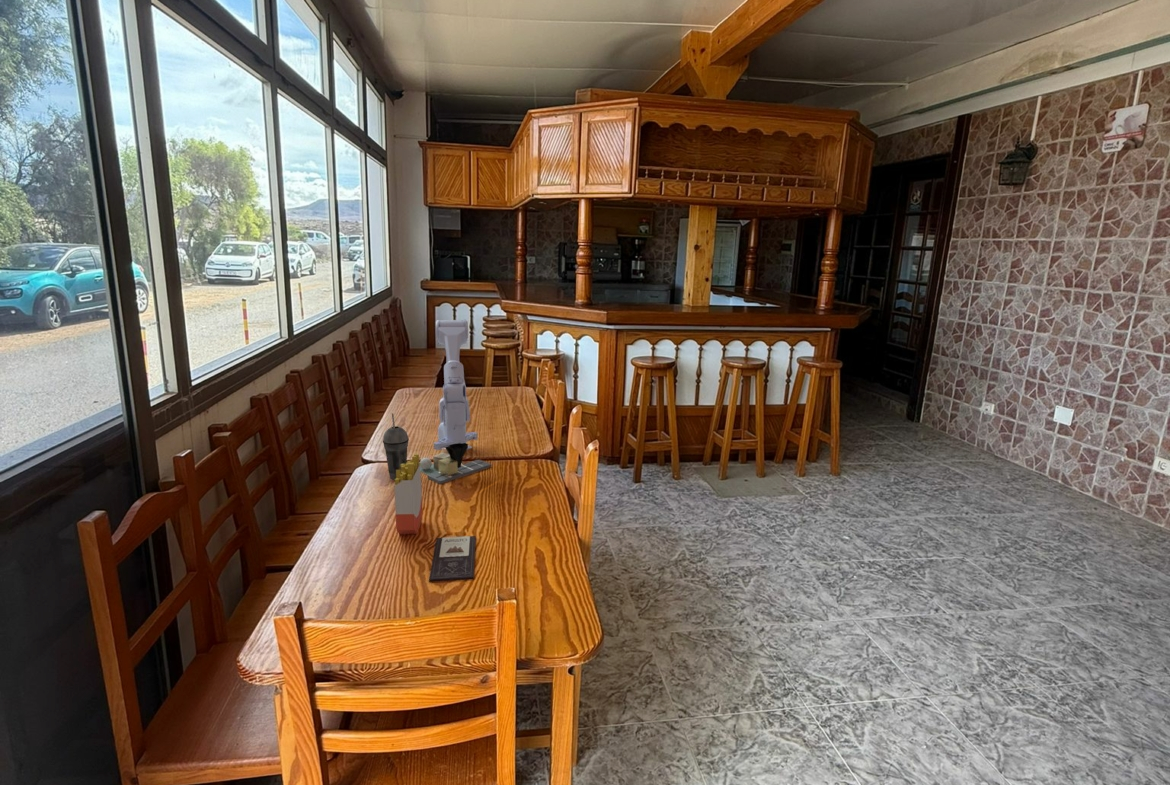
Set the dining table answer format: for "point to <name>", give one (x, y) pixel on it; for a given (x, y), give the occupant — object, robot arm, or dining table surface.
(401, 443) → the beverage cup
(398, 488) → the french fries container
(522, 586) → the dining table surface
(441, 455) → the birch block
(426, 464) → the grey ball
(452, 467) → the tan cardboard cube
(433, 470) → the slate mat
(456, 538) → the chocolate bar
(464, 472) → the board
